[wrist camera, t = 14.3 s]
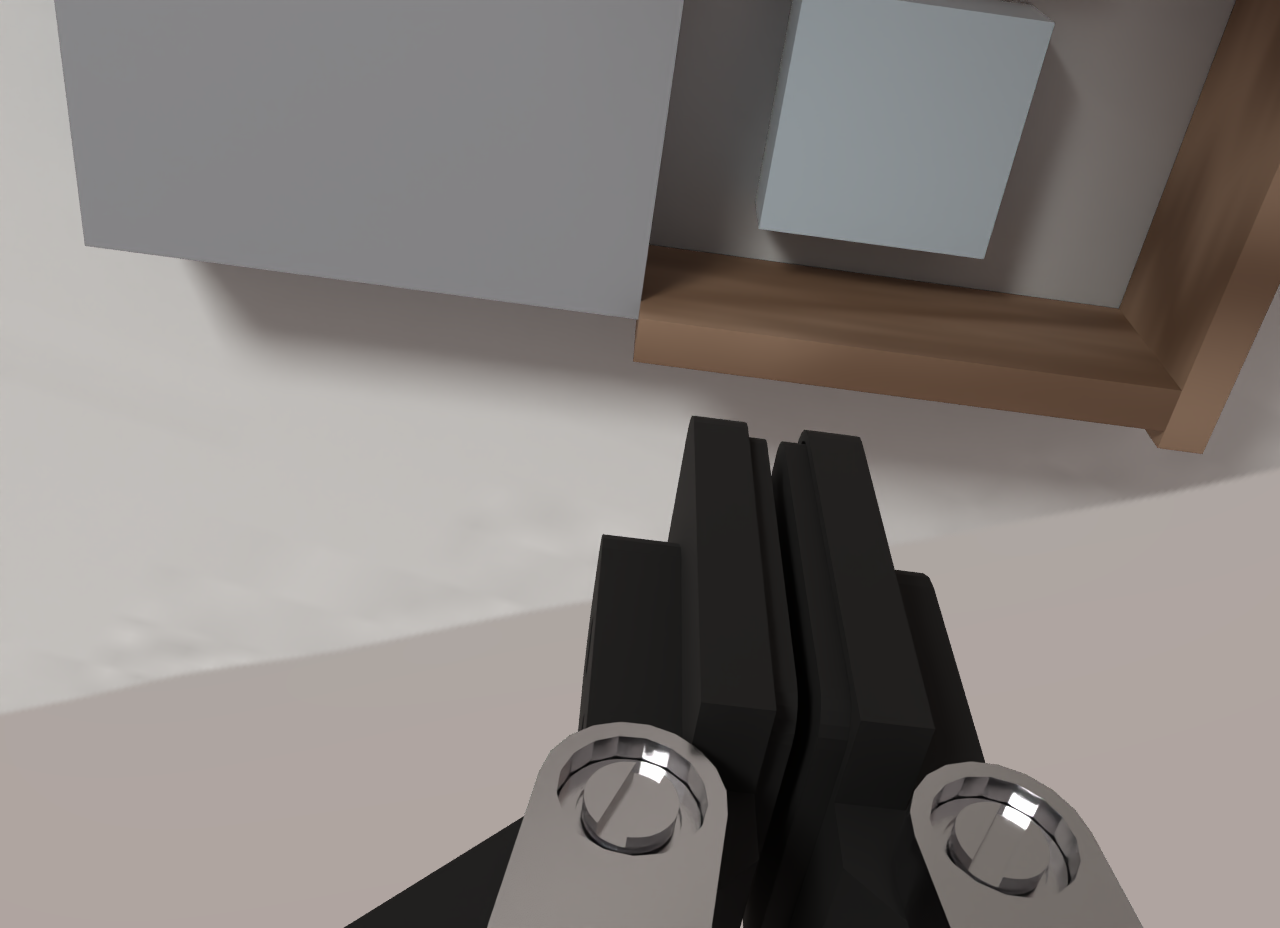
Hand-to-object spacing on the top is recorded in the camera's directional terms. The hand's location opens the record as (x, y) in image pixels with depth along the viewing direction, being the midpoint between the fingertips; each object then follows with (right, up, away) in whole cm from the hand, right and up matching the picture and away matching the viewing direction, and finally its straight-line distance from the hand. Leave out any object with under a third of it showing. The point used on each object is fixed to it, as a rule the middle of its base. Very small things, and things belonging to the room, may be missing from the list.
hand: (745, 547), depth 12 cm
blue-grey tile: (+5, +9, +17) cm, 20 cm away
